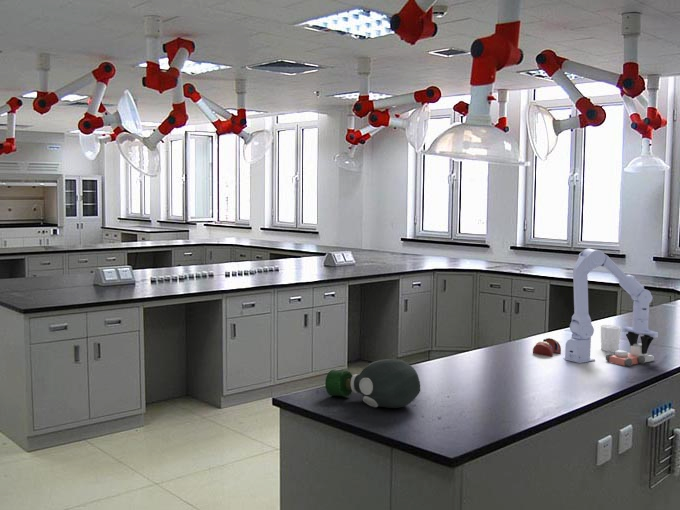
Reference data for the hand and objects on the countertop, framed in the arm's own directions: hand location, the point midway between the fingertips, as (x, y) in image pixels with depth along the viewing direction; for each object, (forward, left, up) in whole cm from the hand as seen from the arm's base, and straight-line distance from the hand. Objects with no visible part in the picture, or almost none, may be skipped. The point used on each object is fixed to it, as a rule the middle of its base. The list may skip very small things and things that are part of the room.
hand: (639, 352), depth 273 cm
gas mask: (-123, +5, -3) cm, 123 cm away
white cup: (+6, +17, -3) cm, 19 cm away
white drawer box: (0, 0, -2) cm, 2 cm away
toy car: (-5, 0, -3) cm, 6 cm away
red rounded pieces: (-23, +26, -3) cm, 35 cm away
